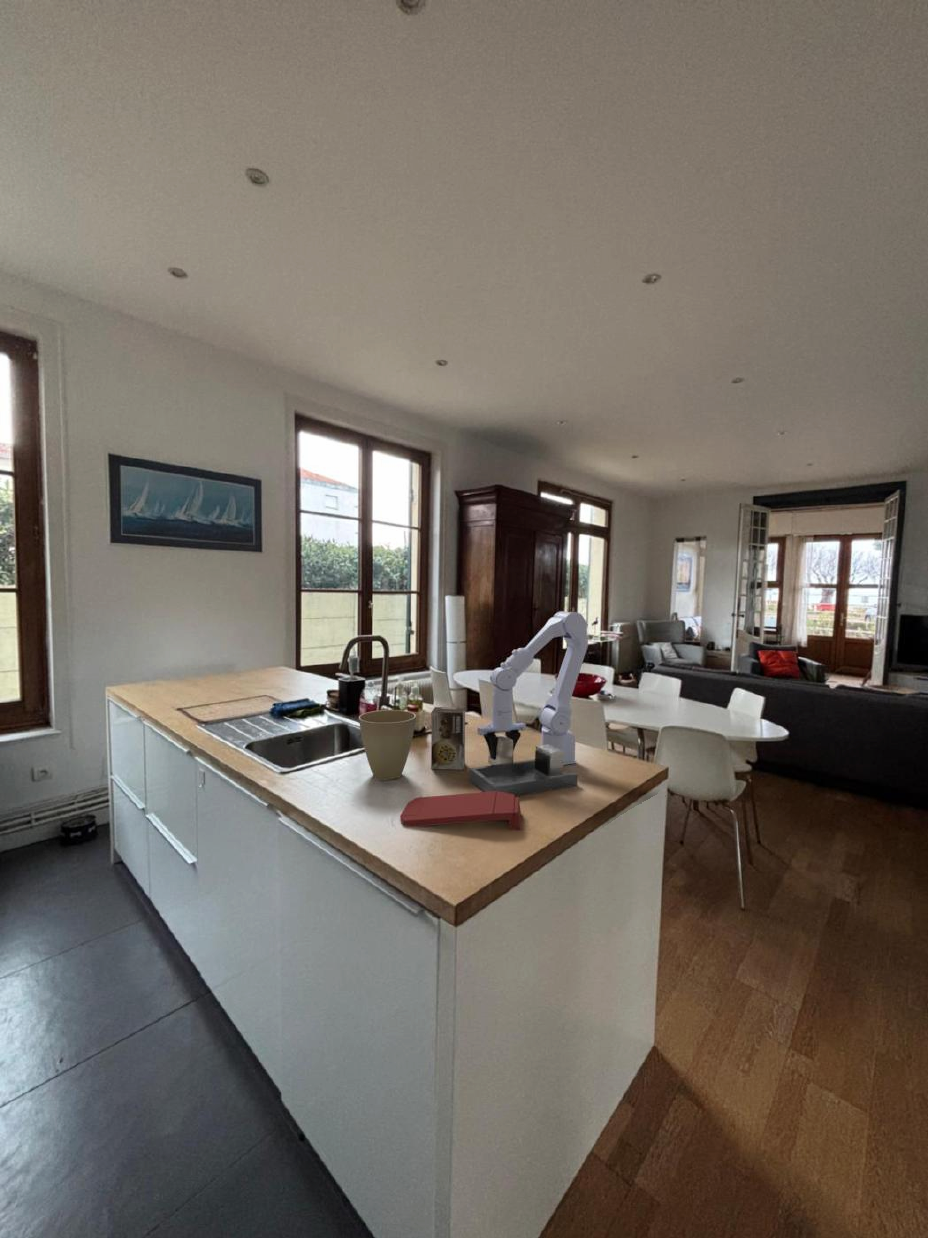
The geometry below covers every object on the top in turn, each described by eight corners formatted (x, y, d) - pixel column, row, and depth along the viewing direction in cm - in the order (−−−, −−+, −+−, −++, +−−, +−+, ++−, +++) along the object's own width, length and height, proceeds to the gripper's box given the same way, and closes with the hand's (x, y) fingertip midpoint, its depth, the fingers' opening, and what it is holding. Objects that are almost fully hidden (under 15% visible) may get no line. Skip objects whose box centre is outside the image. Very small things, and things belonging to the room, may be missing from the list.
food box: (465, 763, 144) (466, 707, 144) (463, 770, 138) (464, 712, 137) (433, 761, 145) (434, 706, 145) (430, 769, 139) (431, 711, 138)
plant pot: (404, 763, 143) (405, 707, 143) (423, 780, 130) (424, 719, 129) (352, 770, 137) (352, 712, 136) (366, 789, 123) (366, 725, 123)
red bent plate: (400, 844, 105) (520, 835, 101) (397, 821, 104) (517, 811, 101) (413, 818, 117) (521, 810, 113) (410, 798, 116) (518, 788, 113)
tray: (546, 768, 141) (547, 740, 141) (577, 785, 128) (578, 754, 128) (469, 779, 131) (469, 749, 131) (494, 799, 118) (494, 766, 118)
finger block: (502, 760, 147) (502, 733, 147) (514, 768, 141) (515, 740, 140) (488, 762, 145) (488, 735, 145) (499, 770, 139) (500, 741, 139)
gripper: (517, 705, 149) (516, 750, 150) (473, 709, 143) (472, 756, 144) (529, 710, 143) (528, 757, 143) (484, 714, 137) (483, 763, 137)
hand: (501, 757), depth 143 cm, fingers open, 5 cm apart
